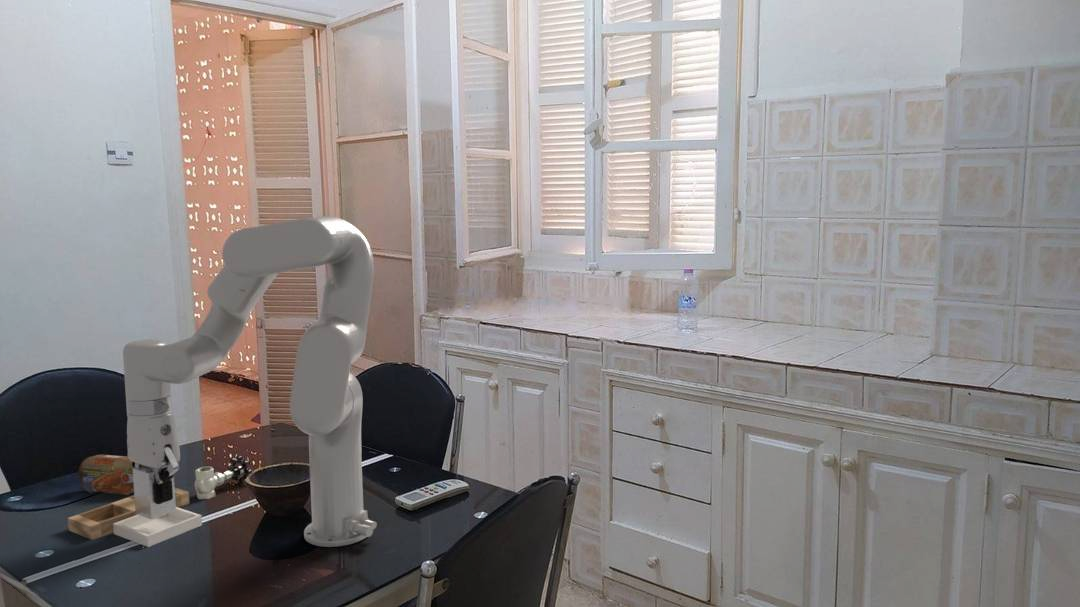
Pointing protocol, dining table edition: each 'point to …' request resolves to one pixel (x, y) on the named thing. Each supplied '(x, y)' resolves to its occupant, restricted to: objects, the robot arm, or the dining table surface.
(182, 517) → the dish
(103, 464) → the tin
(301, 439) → the dining table surface
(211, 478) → the valve
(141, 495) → the gray rectangular block
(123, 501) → the wooden compartment tray
